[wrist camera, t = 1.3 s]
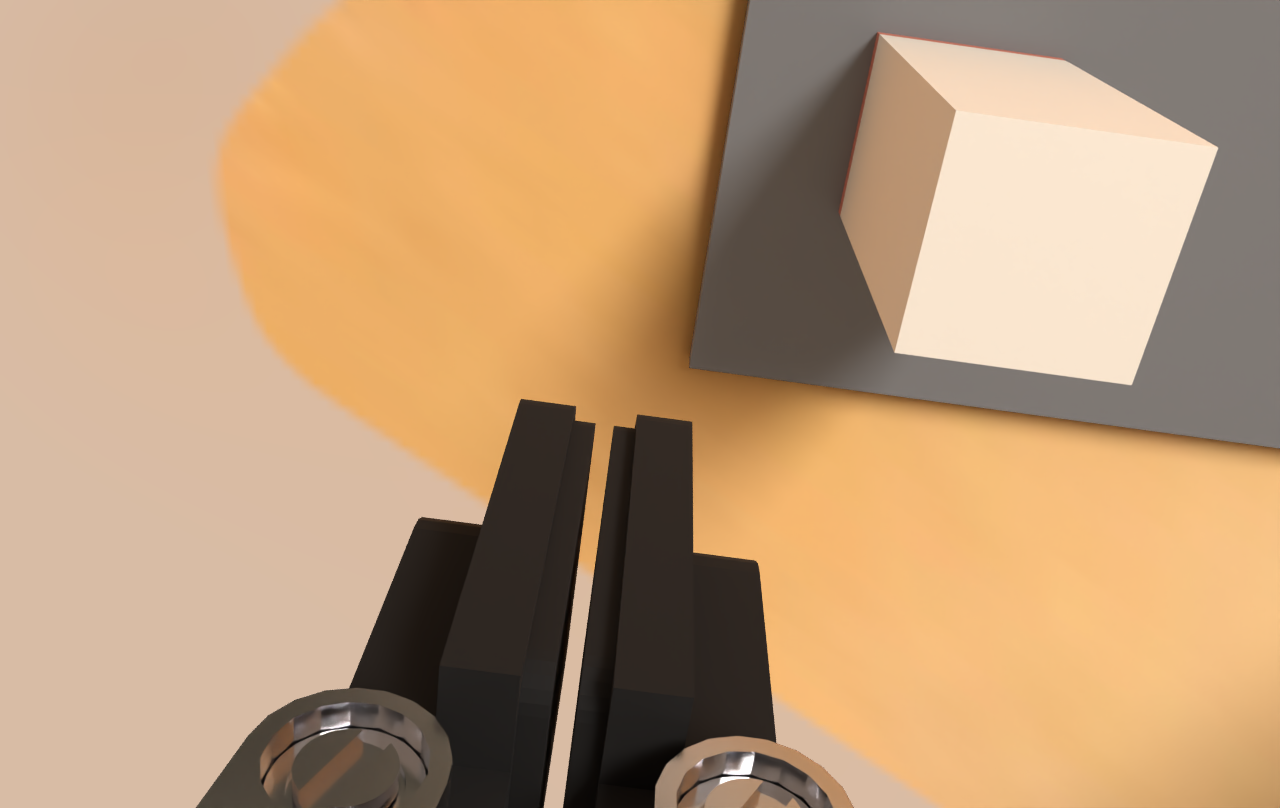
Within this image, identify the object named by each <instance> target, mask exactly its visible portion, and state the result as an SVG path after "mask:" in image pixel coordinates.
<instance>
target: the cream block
mask: <svg viewBox="0 0 1280 808" xmlns="http://www.w3.org/2000/svg"><path fill="white" fill-rule="evenodd" d="M1217 150H1218V147H1216V146H1215V145H1213V144H1211V143H1209V142H1208V141H1206V140H1204V139H1202V138H1201V137H1199V136H1197V135H1195V134H1194V133H1192V132H1190V131H1188V130H1187V129H1185V128H1183V127H1181V126H1180V125H1178V124H1176V123H1174V122H1173V121H1171V120H1169V119H1167V118H1166V117H1164V116H1162V115H1160V114H1159V113H1157V112H1155V111H1153V110H1152V109H1150V108H1148V107H1146V106H1144V105H1143V104H1141V103H1139V102H1137V101H1136V100H1134V99H1132V98H1130V97H1129V96H1127V95H1125V94H1123V93H1122V92H1120V91H1118V90H1116V89H1115V88H1113V87H1111V86H1109V85H1108V84H1106V83H1104V82H1102V81H1101V80H1099V79H1097V78H1095V77H1094V76H1092V75H1090V74H1088V73H1087V72H1085V71H1083V70H1081V69H1080V68H1078V67H1076V66H1074V65H1073V64H1071V63H1069V62H1067V61H1066V60H1064V59H1062V58H1057V57H1050V56H1043V55H1036V54H1028V53H1021V52H1014V51H1007V50H1000V49H993V48H986V47H979V46H972V45H965V44H958V43H951V42H944V41H937V40H930V39H923V38H916V37H909V36H902V35H895V34H888V33H881V32H877V36H876V41H875V46H874V50H873V55H872V59H871V64H870V69H869V73H868V78H867V83H866V87H865V92H864V96H863V101H862V106H861V110H860V115H859V120H858V124H857V129H856V133H855V138H854V143H853V147H852V152H851V156H850V161H849V166H848V170H847V175H846V180H845V184H844V189H843V193H842V198H841V203H840V207H839V215H840V217H841V220H842V222H843V225H844V227H845V230H846V232H847V235H848V237H849V240H850V242H851V245H852V247H853V250H854V252H855V255H856V257H857V260H858V262H859V265H860V267H861V270H862V272H863V275H864V277H865V280H866V283H867V285H868V288H869V290H870V293H871V295H872V298H873V300H874V303H875V305H876V308H877V310H878V313H879V315H880V318H881V320H882V323H883V325H884V328H885V330H886V333H887V335H888V338H889V340H890V343H891V345H892V348H893V350H894V353H900V354H907V355H915V356H922V357H929V358H936V359H944V360H951V361H958V362H966V363H973V364H980V365H987V366H995V367H1002V368H1009V369H1017V370H1024V371H1031V372H1038V373H1046V374H1053V375H1060V376H1068V377H1075V378H1082V379H1089V380H1097V381H1104V382H1111V383H1119V384H1126V385H1132V383H1133V380H1134V378H1135V375H1136V372H1137V369H1138V367H1139V364H1140V361H1141V358H1142V356H1143V353H1144V350H1145V347H1146V345H1147V342H1148V339H1149V337H1150V334H1151V331H1152V328H1153V326H1154V323H1155V320H1156V317H1157V315H1158V312H1159V309H1160V306H1161V304H1162V301H1163V298H1164V295H1165V293H1166V290H1167V287H1168V284H1169V282H1170V279H1171V276H1172V273H1173V271H1174V268H1175V265H1176V263H1177V260H1178V257H1179V254H1180V252H1181V249H1182V246H1183V243H1184V241H1185V238H1186V235H1187V232H1188V230H1189V227H1190V224H1191V221H1192V219H1193V216H1194V213H1195V210H1196V208H1197V205H1198V202H1199V199H1200V197H1201V194H1202V191H1203V189H1204V186H1205V183H1206V180H1207V178H1208V175H1209V172H1210V169H1211V167H1212V164H1213V161H1214V158H1215V156H1216V153H1217Z"/></svg>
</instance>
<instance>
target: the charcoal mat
mask: <svg viewBox="0 0 1280 808" xmlns="http://www.w3.org/2000/svg"><path fill="white" fill-rule="evenodd" d="M877 32H881V33H888V34H895V35H902V36H909V37H916V38H923V39H930V40H937V41H944V42H951V43H958V44H965V45H972V46H979V47H986V48H993V49H1000V50H1007V51H1014V52H1021V53H1028V54H1036V55H1043V56H1050V57H1057V58H1062V59H1064V60H1066V61H1067V62H1069V63H1071V64H1073V65H1074V66H1076V67H1078V68H1080V69H1081V70H1083V71H1085V72H1087V73H1088V74H1090V75H1092V76H1094V77H1095V78H1097V79H1099V80H1101V81H1102V82H1104V83H1106V84H1108V85H1109V86H1111V87H1113V88H1115V89H1116V90H1118V91H1120V92H1122V93H1123V94H1125V95H1127V96H1129V97H1130V98H1132V99H1134V100H1136V101H1137V102H1139V103H1141V104H1143V105H1144V106H1146V107H1148V108H1150V109H1152V110H1153V111H1155V112H1157V113H1159V114H1160V115H1162V116H1164V117H1166V118H1167V119H1169V120H1171V121H1173V122H1174V123H1176V124H1178V125H1180V126H1181V127H1183V128H1185V129H1187V130H1188V131H1190V132H1192V133H1194V134H1195V135H1197V136H1199V137H1201V138H1202V139H1204V140H1206V141H1208V142H1209V143H1211V144H1213V145H1215V146H1216V147H1218V150H1217V153H1216V156H1215V158H1214V161H1213V164H1212V167H1211V169H1210V172H1209V175H1208V178H1207V180H1206V183H1205V186H1204V189H1203V191H1202V194H1201V197H1200V199H1199V202H1198V205H1197V208H1196V210H1195V213H1194V216H1193V219H1192V221H1191V224H1190V227H1189V230H1188V232H1187V235H1186V238H1185V241H1184V243H1183V246H1182V249H1181V252H1180V254H1179V257H1178V260H1177V263H1176V265H1175V268H1174V271H1173V273H1172V276H1171V279H1170V282H1169V284H1168V287H1167V290H1166V293H1165V295H1164V298H1163V301H1162V304H1161V306H1160V309H1159V312H1158V315H1157V317H1156V320H1155V323H1154V326H1153V328H1152V331H1151V334H1150V337H1149V339H1148V342H1147V345H1146V347H1145V350H1144V353H1143V356H1142V358H1141V361H1140V364H1139V367H1138V369H1137V372H1136V375H1135V378H1134V380H1133V383H1132V385H1126V384H1119V383H1111V382H1104V381H1097V380H1089V379H1082V378H1075V377H1068V376H1060V375H1053V374H1046V373H1038V372H1031V371H1024V370H1017V369H1009V368H1002V367H995V366H987V365H980V364H973V363H966V362H958V361H951V360H944V359H936V358H929V357H922V356H915V355H907V354H900V353H894V350H893V348H892V345H891V343H890V340H889V338H888V335H887V333H886V330H885V328H884V325H883V323H882V320H881V318H880V315H879V313H878V310H877V308H876V305H875V303H874V300H873V298H872V295H871V293H870V290H869V288H868V285H867V283H866V280H865V277H864V275H863V272H862V270H861V267H860V265H859V262H858V260H857V257H856V255H855V252H854V250H853V247H852V245H851V242H850V240H849V237H848V235H847V232H846V230H845V227H844V225H843V222H842V220H841V217H840V215H839V207H840V203H841V198H842V193H843V189H844V184H845V180H846V175H847V170H848V166H849V161H850V156H851V152H852V147H853V143H854V138H855V133H856V129H857V124H858V120H859V115H860V110H861V106H862V101H863V96H864V92H865V87H866V83H867V78H868V73H869V69H870V64H871V59H872V55H873V50H874V46H875V41H876V36H877ZM689 368H694V369H701V370H709V371H716V372H723V373H731V374H738V375H745V376H753V377H760V378H767V379H775V380H782V381H789V382H797V383H804V384H811V385H819V386H826V387H833V388H841V389H848V390H855V391H863V392H870V393H877V394H885V395H892V396H899V397H907V398H914V399H921V400H929V401H936V402H943V403H951V404H958V405H965V406H973V407H980V408H987V409H995V410H1002V411H1009V412H1017V413H1024V414H1031V415H1038V416H1046V417H1053V418H1060V419H1068V420H1075V421H1082V422H1090V423H1097V424H1104V425H1112V426H1119V427H1126V428H1134V429H1141V430H1148V431H1156V432H1163V433H1170V434H1178V435H1185V436H1192V437H1200V438H1207V439H1214V440H1222V441H1229V442H1236V443H1244V444H1251V445H1258V446H1266V447H1273V448H1280V0H748V4H747V10H746V16H745V23H744V29H743V35H742V41H741V47H740V53H739V59H738V65H737V71H736V77H735V83H734V90H733V96H732V102H731V108H730V114H729V120H728V126H727V132H726V138H725V144H724V150H723V156H722V163H721V169H720V175H719V181H718V187H717V193H716V199H715V205H714V211H713V217H712V223H711V229H710V236H709V242H708V248H707V254H706V260H705V266H704V272H703V278H702V284H701V290H700V296H699V303H698V309H697V315H696V321H695V327H694V333H693V339H692V345H691V351H690V357H689Z"/></svg>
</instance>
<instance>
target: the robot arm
mask: <svg viewBox="0 0 1280 808" xmlns="http://www.w3.org/2000/svg"><path fill="white" fill-rule="evenodd" d="M575 414H576V406H570V405H562V404H555V403H547V402H540V401H532V400H525V399H521V400H520V403H519V406H518V409H517V412H516V416H515V419H514V422H513V425H512V429H511V432H510V435H509V439H508V442H507V445H506V448H505V452H504V455H503V458H502V462H501V465H500V468H499V471H498V475H497V478H496V481H495V484H494V488H493V491H492V494H491V498H490V501H489V504H488V507H487V511H486V514H485V517H484V521H483V524H482V525H479V524H471V523H463V522H456V521H448V520H440V519H432V518H425V517H422V518H420V519H418V521H417V523H416V525H415V527H414V529H413V531H412V534H411V536H410V539H409V541H408V544H407V546H406V549H405V551H404V554H403V556H402V559H401V561H400V564H399V566H398V569H397V571H396V574H395V576H394V579H393V581H392V584H391V586H390V589H389V591H388V594H387V596H386V598H385V601H384V604H383V606H382V609H381V611H380V613H379V616H378V618H377V621H376V624H375V626H374V628H373V631H372V633H371V635H370V638H369V640H368V643H367V645H366V648H365V650H364V653H363V655H362V658H361V661H360V663H359V665H358V668H357V670H356V673H355V675H354V678H353V680H352V683H351V685H350V688H348V689H338V690H326V691H322V692H319V693H316V694H313V695H309V696H306V697H303V698H300V699H296V700H294V701H292V702H291V703H289V704H287V705H285V706H284V707H282V708H280V709H279V710H277V711H275V712H273V713H272V714H270V715H268V716H267V717H266V718H265V719H264V720H263V721H262V722H261V723H260V724H259V725H258V726H257V727H256V728H255V729H254V730H253V731H252V732H251V733H250V734H249V735H248V737H247V738H246V739H245V741H244V742H243V743H242V745H241V746H240V748H239V749H238V750H237V752H236V753H235V755H234V756H233V757H232V759H231V760H230V761H229V763H228V764H227V766H226V767H225V769H224V770H223V771H222V773H221V774H220V775H219V776H218V778H217V779H216V781H215V782H214V784H213V785H212V786H211V788H210V789H209V790H208V792H207V793H206V795H205V796H204V797H203V799H202V800H201V801H200V803H199V804H198V805H197V807H196V808H544V801H545V795H546V788H547V782H548V775H549V768H550V762H551V755H552V748H553V742H554V735H555V728H556V722H557V715H558V709H559V702H560V695H561V689H562V682H563V675H564V668H565V661H566V654H567V647H568V639H569V630H570V623H571V615H572V606H573V599H574V590H575V584H576V576H577V568H578V560H579V552H580V544H581V536H582V528H583V520H584V512H585V504H586V497H587V489H588V481H589V473H590V465H591V457H592V449H593V441H594V433H595V424H596V423H588V422H581V421H575ZM563 808H854V807H853V805H852V803H851V801H850V800H849V798H848V796H847V794H846V792H845V790H844V789H843V787H842V786H841V785H840V784H839V783H838V782H837V781H836V780H835V779H834V778H833V777H832V776H831V775H830V774H829V773H828V772H827V771H826V770H825V769H824V768H823V767H822V766H820V765H819V764H817V763H815V762H814V761H812V760H811V759H809V758H808V757H806V756H805V755H803V754H801V753H800V752H798V751H797V750H794V749H791V748H788V747H786V746H783V745H780V744H777V743H776V735H775V724H774V715H773V704H772V693H771V683H770V673H769V663H768V653H767V643H766V632H765V622H764V612H763V602H762V592H761V582H760V572H759V567H758V563H757V562H756V561H754V560H746V559H739V558H731V557H724V556H716V555H708V554H701V553H693V457H692V422H690V421H682V420H675V419H667V418H660V417H652V416H645V415H637V419H636V425H635V429H633V428H626V427H618V426H614V429H613V437H612V444H611V451H610V459H609V466H608V474H607V481H606V489H605V496H604V503H603V511H602V518H601V526H600V533H599V540H598V548H597V555H596V563H595V570H594V577H593V585H592V593H591V600H590V607H589V615H588V622H587V629H586V637H585V645H584V652H583V659H582V667H581V675H580V682H579V690H578V697H577V705H576V712H575V721H574V728H573V736H572V743H571V751H570V759H569V766H568V774H567V781H566V789H565V797H564V804H563Z"/></svg>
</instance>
